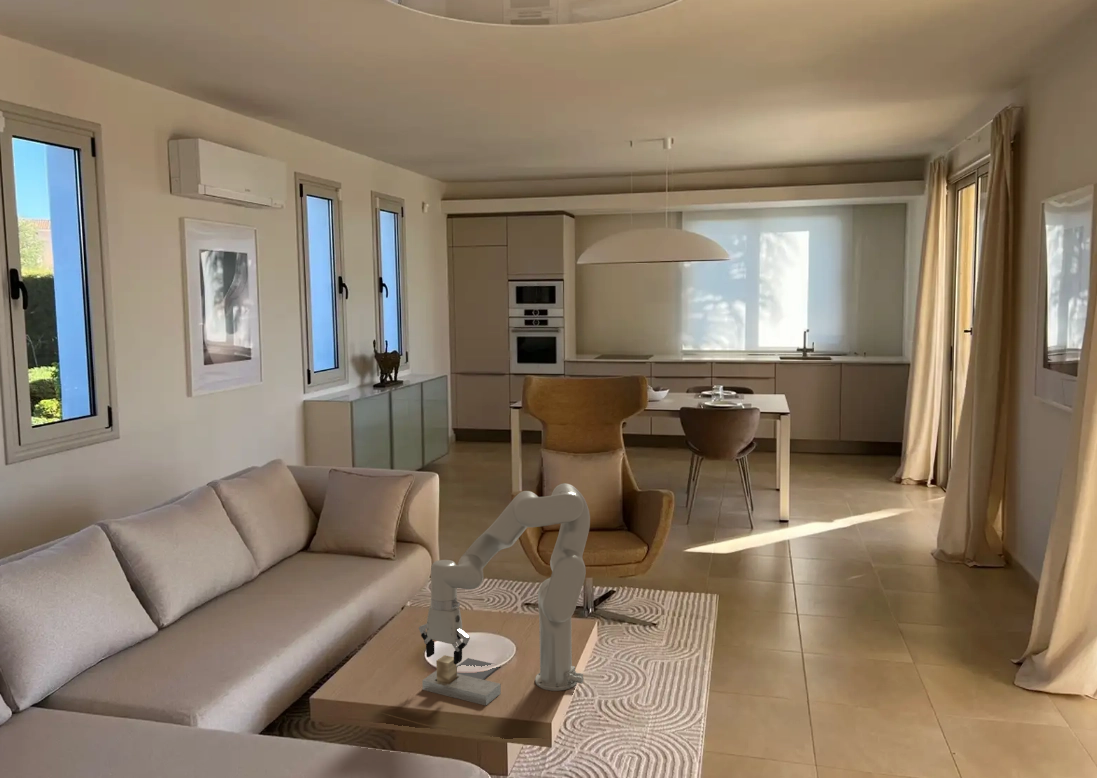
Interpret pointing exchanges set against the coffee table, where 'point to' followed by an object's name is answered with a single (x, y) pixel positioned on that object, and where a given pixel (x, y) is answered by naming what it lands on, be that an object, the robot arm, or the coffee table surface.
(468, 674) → the charcoal mat
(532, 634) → the coffee table surface
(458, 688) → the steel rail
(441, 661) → the birch peg
